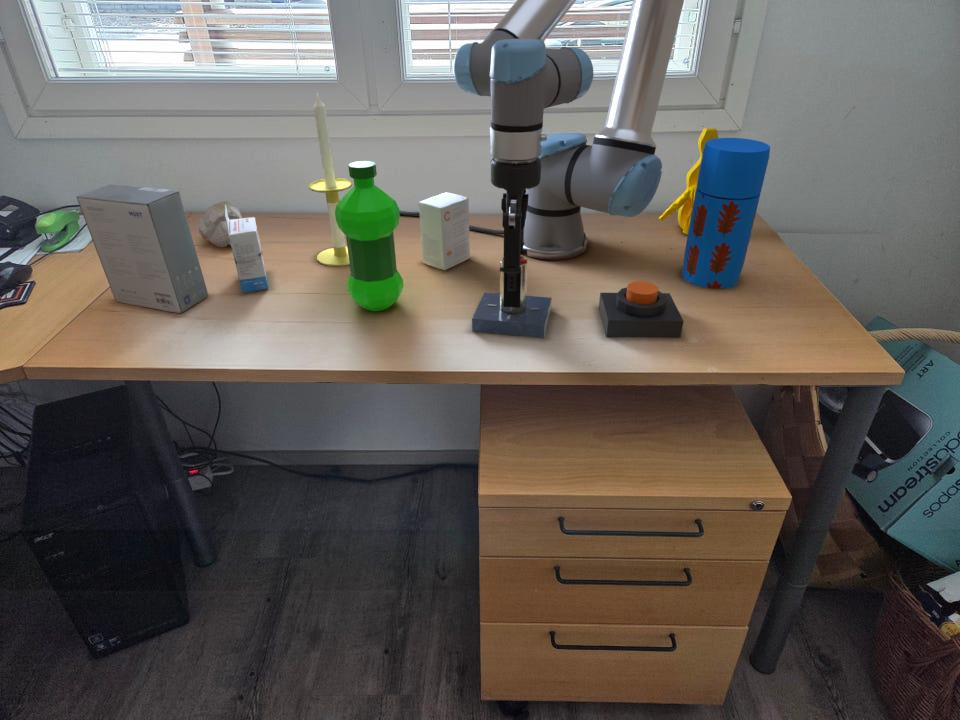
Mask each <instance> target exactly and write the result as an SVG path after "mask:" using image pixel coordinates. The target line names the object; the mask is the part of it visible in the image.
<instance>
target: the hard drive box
mask: <svg viewBox="0 0 960 720" xmlns="http://www.w3.org/2000/svg"><path fill="white" fill-rule="evenodd" d="M76 200H77V202H78V205H79V208H80V211H81V213H82V216H83V218H84V222H85V224H86V226H87V229H88V232H89V234H90V237H91V239H92V243H93V245H94V248H95V251H96V253H97V256H98V258H99V261H100V263H101V267H102V269H103V272H104V274H105V277H106V280H107V282H108V285H109V288H110V290H111V294H112V296H113V298H114V301H115V302H117V303H122V304H126V305H131V306H138V307H142V308H143V307H144V308H150V309H153V310H154V309H156V310H159V311H163V312H171V313H176V314H181V313H184V312H185V311H186V310H188V309H190V308H191V307H193V306H195V305H196V304H197V303H200V302H201V301H203V300H205V299H206V298H208V297H209V291H208V287H207V286H206V282H205V277H204V274H203V270H202V268H201V264H200V259H199V257H198V253H197V249H196V246H195V243H194V239H193V236H192V232H191V229H190V225H189V222H188V218H187V214H186V211H185V208H184V205H183V200H182V197H181V193H180V190H176V189H172V190H171V189H167V188H166V189H165V188H156V187H143V186H130V185H123V184H122V185H120V184H108V185H105V186H101V187H99V188H96V189H93V190H90V191H88V192H84V193H81V194H79V195H76Z"/></svg>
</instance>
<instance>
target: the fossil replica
mask: <svg viewBox="0 0 960 720" xmlns="http://www.w3.org/2000/svg"><path fill="white" fill-rule="evenodd" d="M225 205H226V208H227V212H228V217H229V220H233V219H241V218H243V217H242V214H241V212H240V210H239V209H238V207H237V206H236V205H235V206H234V205H233V204H232V203H231V202H230V201H228V200H224V201H220V202H217V203H214V204H212V205H211V206H209V207H207V209H206V210H205V211H204V212H203V217H201V218H200V219H199V222H198V233H199V235H200V237H201V238H202V239H204V240H207V241H209V242H210V243H211V244H212V245H214V246H216V247H218V248H226V247H227V246H231V243H230V239H229V235H228V230H227V225H226V219H225Z"/></svg>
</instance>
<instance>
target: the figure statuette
mask: <svg viewBox="0 0 960 720" xmlns="http://www.w3.org/2000/svg"><path fill="white" fill-rule="evenodd" d="M718 132H719V131H718V129H717V128H715V127H703V129H702V130H701V133H700V135H699V138H698V140H697V147H698V152H699V159H698V160H697V161H696V162H695V164H694V165H693V166H692V167H691V168H690V169H689V170H688V172H687V174H686V178H685V186H686V189H685V190H684V191H683V192H682V194H681V195H679V196H678V197H677V198H676V199H675V200H674V201H673V202H672V204H670V206H669V207H668V208H667V209H665V210H664V212H663V213H662V214H661V215H660V216H659V217H658V220H660V221H661V222H664V221H665V220H666V219H668V218H669V217H671V216H672V215H673V214H674V213H676V212H677V222H678V225H679V227H680V229H682V233H683V234H684V235H687V236H688V231H689V226H690V220H691V215H692V209H693V204H694V198H695V193H696V188H697V182H698V176H699V170H700V165H701V159H702V154H703V150H704V147H705V144H706V142H707V141H708V140H711V139H716V138H719V134H718Z"/></svg>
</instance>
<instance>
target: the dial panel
mask: <svg viewBox="0 0 960 720" xmlns="http://www.w3.org/2000/svg"><path fill="white" fill-rule="evenodd" d="M551 310H552V297H546V296H545V297H544V296H534V295H526V309H525V310H524V311H523V312H520V313H506V312H504V311H502V310H501V309H500V292H489V291H488V292H486V291H484V292H483V293H482V296H481V298H480V300H479V302H478V304H477V307H476V309H475V311H474V313H473V316H472V317H471V331H472V332H473V333H485V334H494V335H505V336H514V337H527V338H535V339H536V338H537V339H545V335H546V330H547V327H548V323H549V320H550V319H549V318H550V315H551Z"/></svg>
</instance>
